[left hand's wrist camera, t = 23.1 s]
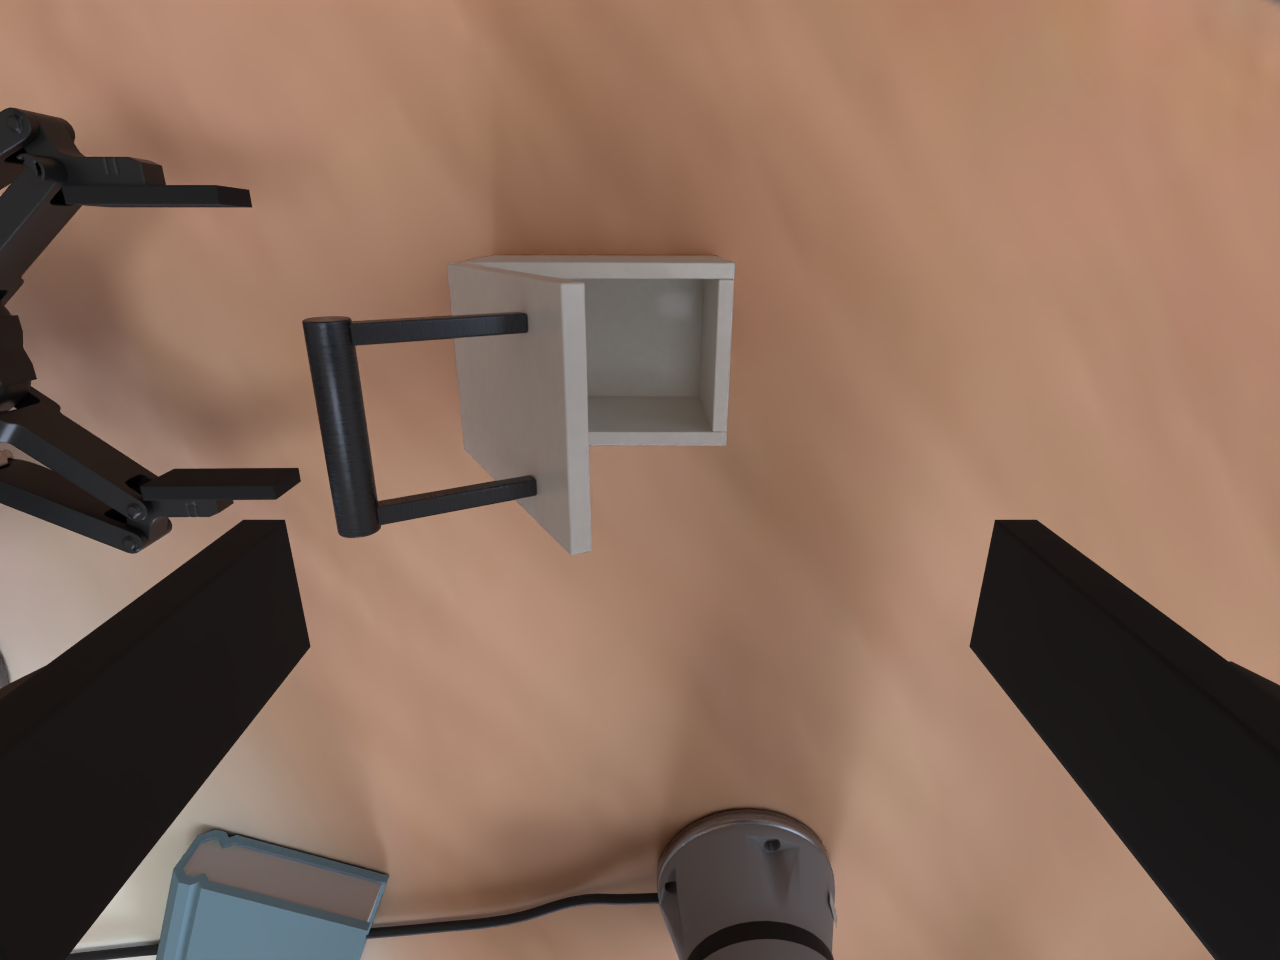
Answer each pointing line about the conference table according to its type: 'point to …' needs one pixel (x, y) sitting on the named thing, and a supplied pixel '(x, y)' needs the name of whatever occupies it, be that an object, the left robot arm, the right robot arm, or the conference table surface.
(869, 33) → the conference table surface
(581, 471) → the lid
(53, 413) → the right robot arm
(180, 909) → the book
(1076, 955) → the conference table surface
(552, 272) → the chest
